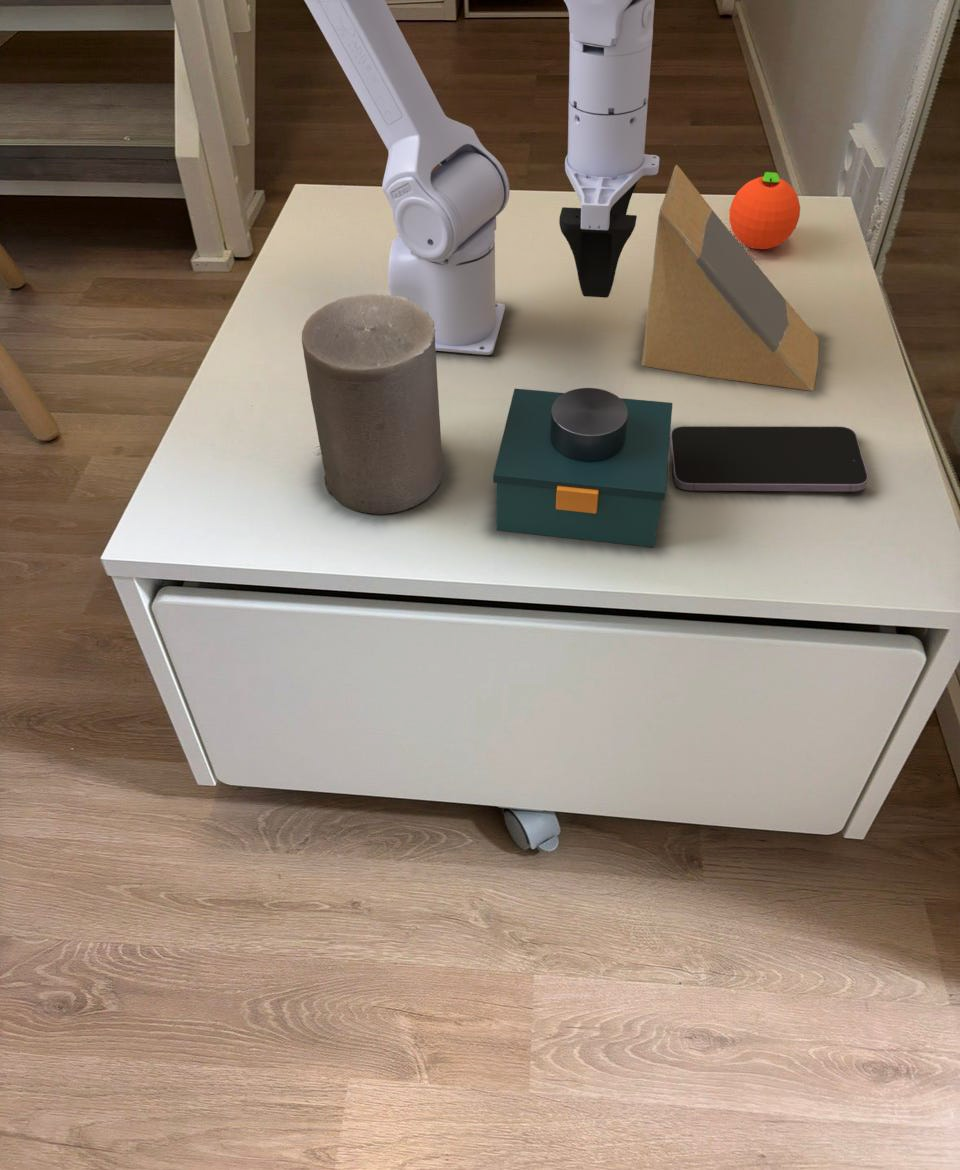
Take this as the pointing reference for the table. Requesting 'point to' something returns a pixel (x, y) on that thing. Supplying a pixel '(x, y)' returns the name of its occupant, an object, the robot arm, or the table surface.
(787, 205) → the clementine
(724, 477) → the smartphone
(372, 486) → the pillar candle
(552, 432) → the grey disc
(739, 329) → the sandwich container
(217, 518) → the table surface
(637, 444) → the box
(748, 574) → the table surface
